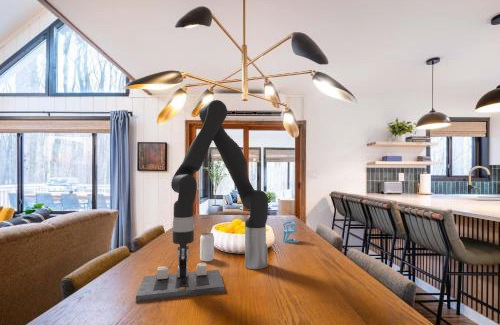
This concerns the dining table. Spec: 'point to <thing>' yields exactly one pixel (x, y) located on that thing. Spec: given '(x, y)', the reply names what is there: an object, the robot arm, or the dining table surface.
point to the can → (206, 247)
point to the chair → (289, 232)
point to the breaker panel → (179, 286)
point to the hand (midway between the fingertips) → (182, 277)
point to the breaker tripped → (179, 271)
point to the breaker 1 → (162, 272)
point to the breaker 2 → (201, 269)
